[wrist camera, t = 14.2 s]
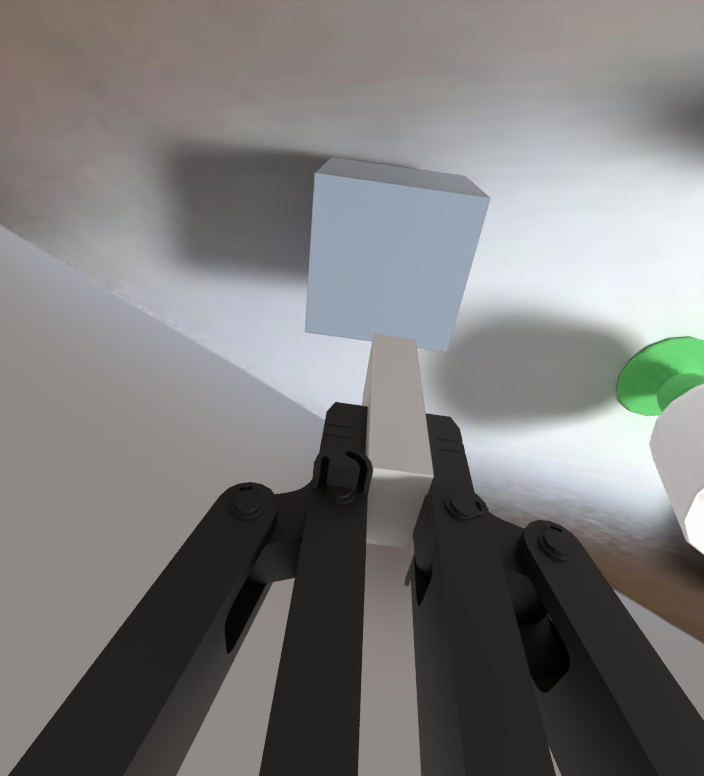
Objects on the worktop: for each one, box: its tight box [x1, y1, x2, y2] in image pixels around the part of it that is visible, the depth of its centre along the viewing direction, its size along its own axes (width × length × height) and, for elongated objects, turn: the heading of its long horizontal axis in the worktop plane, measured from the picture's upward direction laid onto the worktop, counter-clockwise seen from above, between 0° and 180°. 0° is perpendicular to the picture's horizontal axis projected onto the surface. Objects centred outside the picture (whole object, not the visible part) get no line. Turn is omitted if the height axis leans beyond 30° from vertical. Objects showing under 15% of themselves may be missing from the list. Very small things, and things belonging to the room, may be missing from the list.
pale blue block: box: [305, 157, 490, 352], centre depth 29 cm, size 10×10×9 cm
